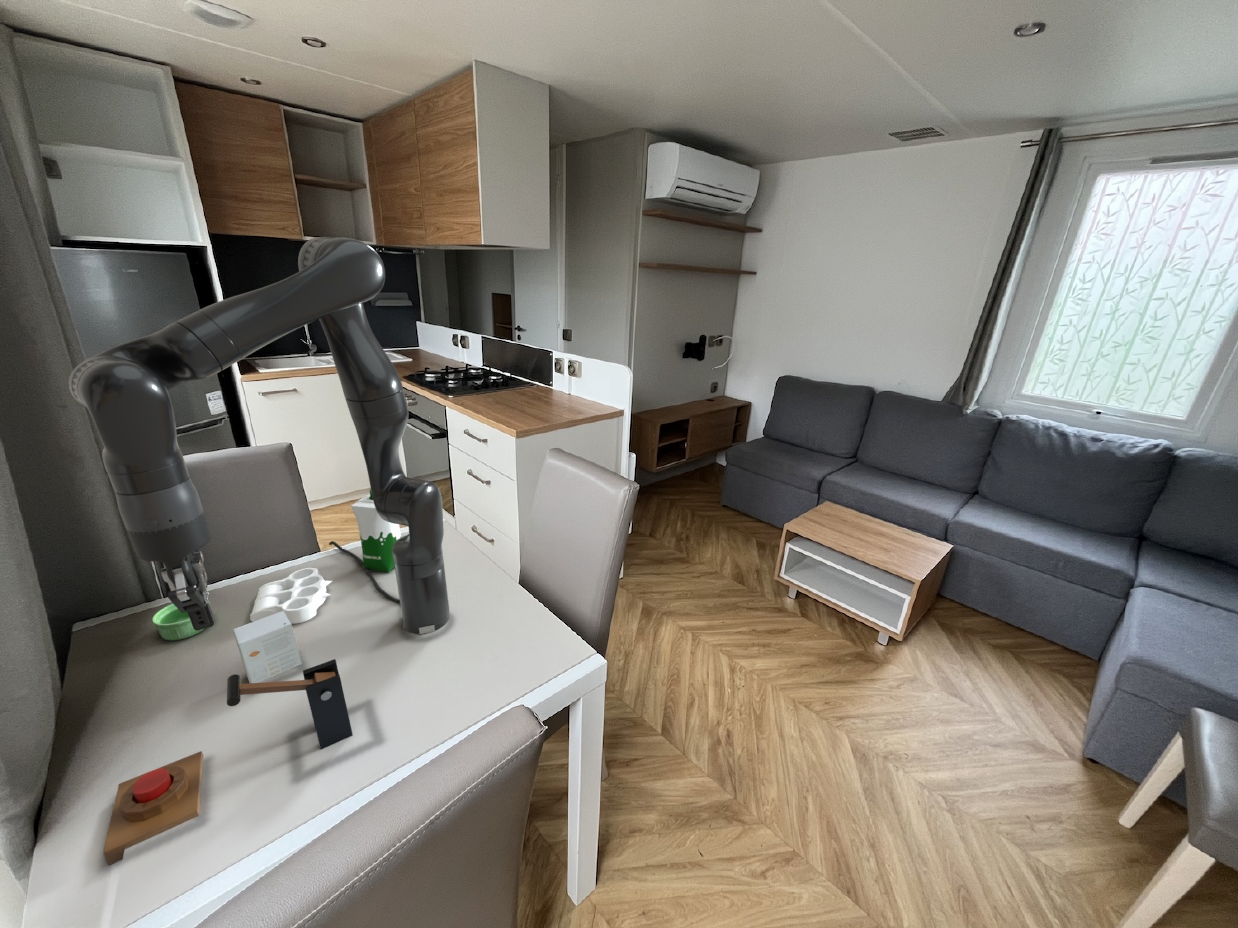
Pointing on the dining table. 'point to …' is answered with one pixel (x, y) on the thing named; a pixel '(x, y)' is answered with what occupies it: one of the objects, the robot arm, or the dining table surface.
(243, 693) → the lever
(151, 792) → the button
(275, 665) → the small box
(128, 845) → the button block
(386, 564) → the milk carton
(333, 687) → the bracket
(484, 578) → the dining table surface
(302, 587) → the white brass knuckles
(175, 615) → the ramekin
